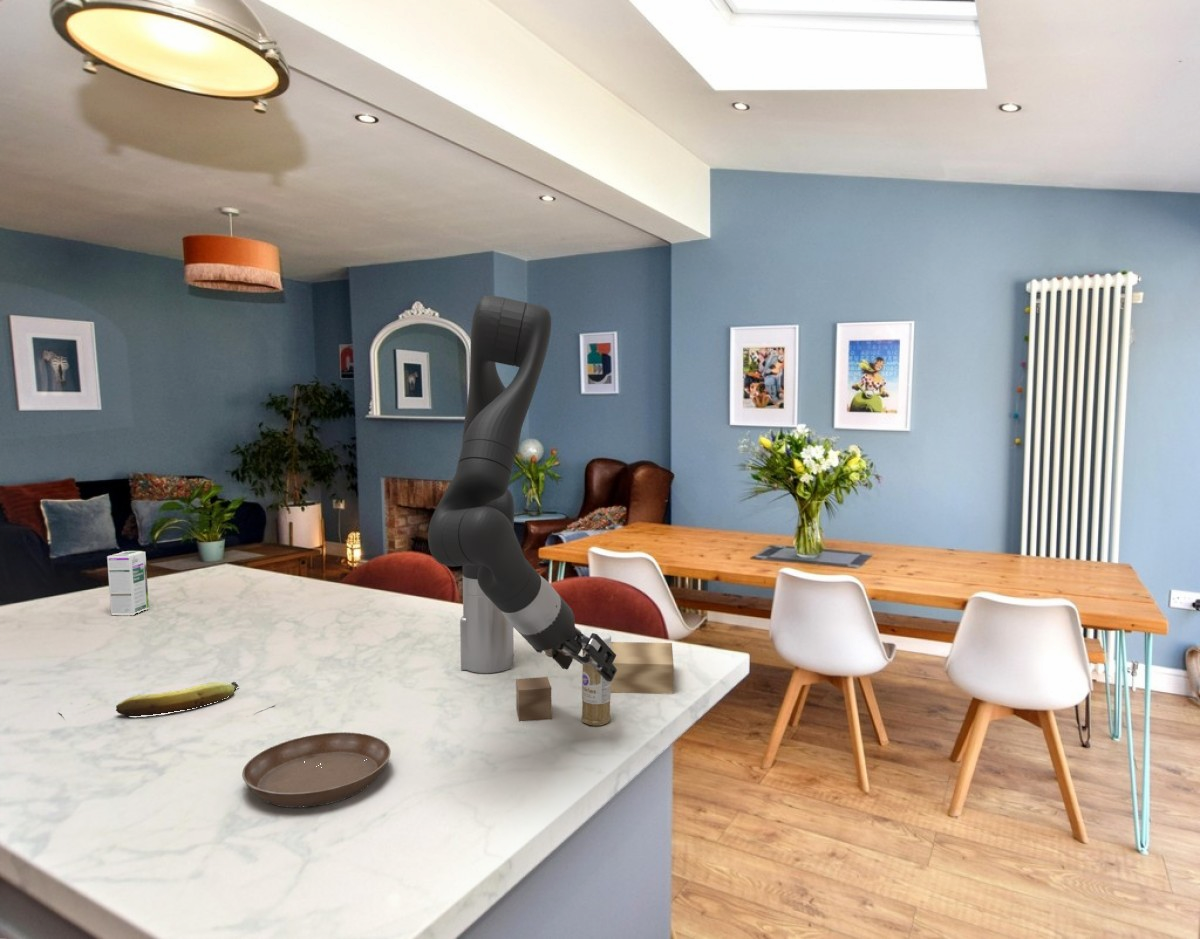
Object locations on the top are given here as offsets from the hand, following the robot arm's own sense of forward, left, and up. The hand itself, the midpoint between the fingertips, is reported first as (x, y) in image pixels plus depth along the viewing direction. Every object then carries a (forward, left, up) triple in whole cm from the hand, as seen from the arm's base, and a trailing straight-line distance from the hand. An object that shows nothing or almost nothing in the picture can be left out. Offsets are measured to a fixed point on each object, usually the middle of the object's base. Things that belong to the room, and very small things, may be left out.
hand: (589, 669), depth 113 cm
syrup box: (-115, +57, -9) cm, 129 cm away
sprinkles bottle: (+1, +1, -9) cm, 9 cm away
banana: (-66, +3, -9) cm, 67 cm away
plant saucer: (-33, -20, -9) cm, 40 cm away
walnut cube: (-9, +3, -8) cm, 13 cm away
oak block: (+7, +19, -8) cm, 22 cm away
